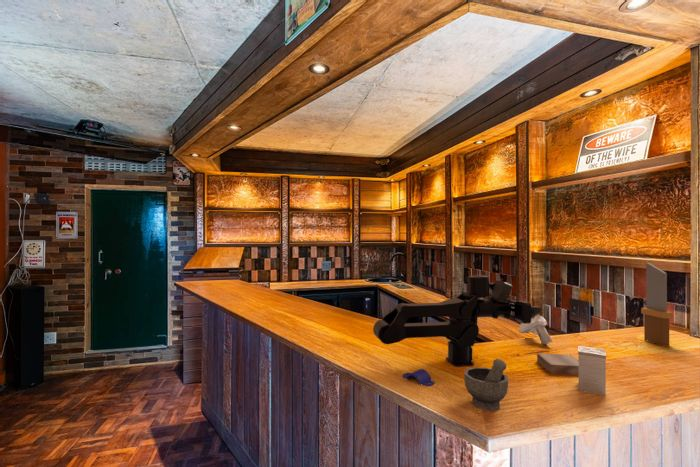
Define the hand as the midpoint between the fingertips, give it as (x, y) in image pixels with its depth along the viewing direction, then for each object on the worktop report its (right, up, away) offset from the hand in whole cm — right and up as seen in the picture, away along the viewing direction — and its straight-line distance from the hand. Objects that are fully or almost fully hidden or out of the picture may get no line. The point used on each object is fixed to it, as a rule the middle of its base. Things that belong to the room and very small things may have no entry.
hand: (530, 306), depth 114 cm
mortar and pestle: (-27, -16, -33) cm, 46 cm away
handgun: (+12, -17, +21) cm, 30 cm away
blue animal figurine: (-41, -17, -19) cm, 48 cm away
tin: (+3, -16, -24) cm, 29 cm away
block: (+4, -17, -9) cm, 20 cm away
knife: (+56, -17, +17) cm, 61 cm away
